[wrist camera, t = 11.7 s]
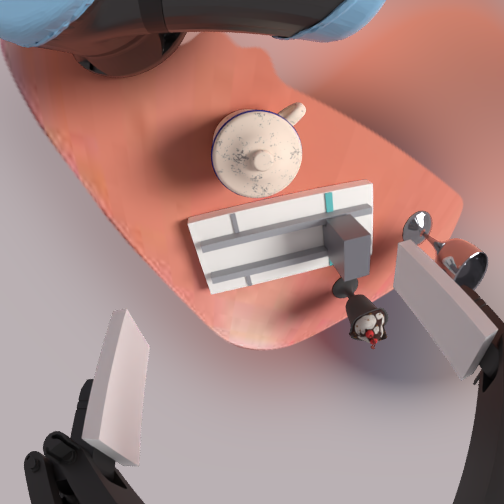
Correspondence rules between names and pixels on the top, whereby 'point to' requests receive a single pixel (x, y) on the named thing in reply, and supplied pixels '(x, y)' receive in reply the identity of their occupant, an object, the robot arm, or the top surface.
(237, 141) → the teacup with lid
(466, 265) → the wine glass
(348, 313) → the sundae
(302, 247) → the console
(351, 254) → the fader tab
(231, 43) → the top surface
